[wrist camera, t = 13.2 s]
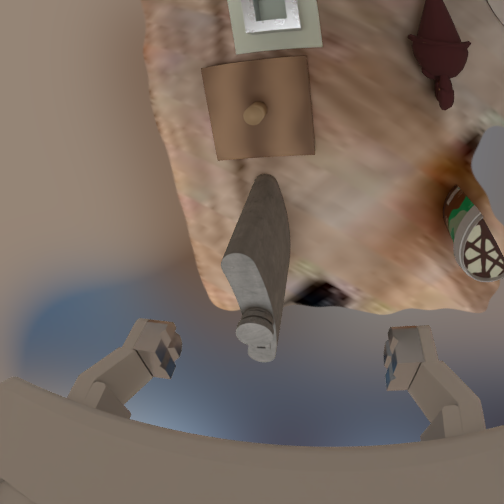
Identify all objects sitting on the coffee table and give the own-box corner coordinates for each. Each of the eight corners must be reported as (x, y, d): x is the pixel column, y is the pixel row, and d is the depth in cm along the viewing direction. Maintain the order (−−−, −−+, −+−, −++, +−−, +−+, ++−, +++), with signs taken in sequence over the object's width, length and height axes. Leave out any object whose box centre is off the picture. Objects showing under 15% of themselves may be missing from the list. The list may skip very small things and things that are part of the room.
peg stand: (306, 55, 31) (305, 56, 26) (314, 149, 37) (315, 166, 33) (206, 67, 33) (188, 71, 28) (221, 155, 40) (208, 172, 35)
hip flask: (252, 175, 41) (209, 272, 25) (282, 172, 40) (258, 271, 24) (270, 269, 50) (246, 379, 34) (295, 268, 49) (281, 380, 33)
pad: (311, -28, 24) (311, -29, 24) (322, 47, 30) (322, 47, 29) (225, -18, 26) (224, -19, 26) (236, 54, 32) (236, 54, 31)
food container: (419, 204, 39) (441, 245, 31) (451, 176, 35) (481, 213, 27) (458, 255, 42) (479, 299, 34) (487, 233, 38) (513, 274, 31)
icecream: (399, -24, 18) (414, 110, 28) (470, -15, 15) (477, 118, 24) (398, -16, 23) (410, 96, 32) (457, -10, 20) (465, 102, 29)
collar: (295, -12, 25) (293, -20, 22) (301, 30, 28) (300, 27, 25) (246, -7, 27) (238, -13, 23) (252, 35, 30) (246, 33, 27)
